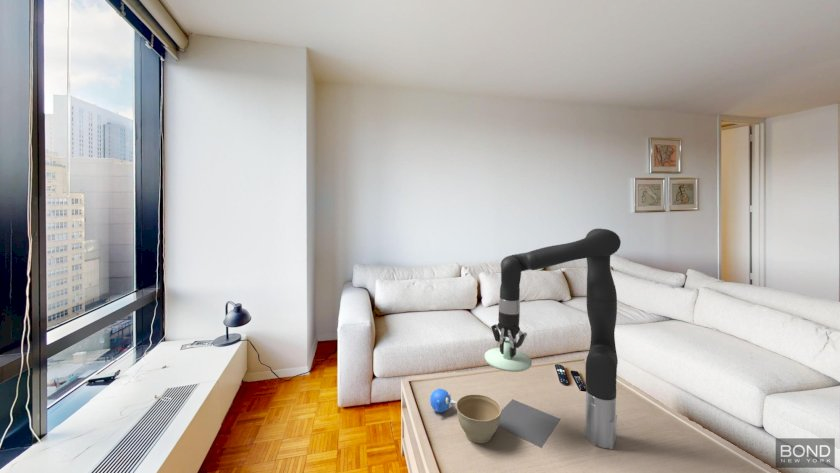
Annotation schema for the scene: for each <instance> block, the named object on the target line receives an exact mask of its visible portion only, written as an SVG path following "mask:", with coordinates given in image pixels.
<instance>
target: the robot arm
mask: <svg viewBox="0 0 840 473" xmlns="http://www.w3.org/2000/svg"><path fill="white" fill-rule="evenodd" d="M620 248H621V238H620V236H619V235H618V233H616V232H614V231H613V230H610V229H608V228H607V229H606V228H593V229H591V230H590V231H588V233H587V234H586V235H585V237H584V238H581V239H579V240H576V241H572V242H567V243H561V244H555V245H549V246H545V247H541V248H537V249H533V250H531V251H528V252H522V253H515V254H512V255H507V256H505V257H504V258H503V259H502V260H501V262H500V288H499V301H498V320H497V321H498V323H497V324H492V325H491V326H490V328H491V331H492V333H493V337H494V340H495V341H496V342H498V343H499V348H500V352H501V354H503V353H504V341H507V338H508V341H510V344H511V348H510V357H514V356H515V355H516V350H517V349H518V348H520V347H522V345H523V343H524V342H525V339H526V338H527V335H528V333H527V332H524V331H522V330H521V328H520V317H521V316H520V314H521V302H520V299H521V298H520V297H521V295H520V294H521V293H520V292H521V291H520V290H521V288H520V284H521V277H522V272H525V271H537V270H542V269H546V268H550V267H552V266H553V267H554V266H556V265H560V264H564V263H565V264H566V263H569V262H571V261H573V262H574V261H576V260H577V261H578V260H582V259H586V265H587V266H586V268H587V271H586V272H587V273H586V312H587V317H588V318H587V319H588V321H589V325H590V343H589V344H590V345H589V351H588V354H587V356H586V359H585V386H586V388H585V419H584V426H585V427H584V435H585V438H586V439H587V441H588V442H590V443H591V444H593V445H594V446H596V447H599V448H602V449H610V450H614V447H615V445H616V442H617V421H618V415H617V414H616V410H617V376H618V374H617V373H618V372H617V370H618V364H619V363H618V362H619V361H618V359H619V358H618V356H617V355H618V354H617V347H616V340H615V338H616V337H615V336H616V335H615V332H616V331H615V330H616V323H617V315H618V314H617V313H618V296H617V289H616V284H615V281H614V278H613V275H612V274H613V273H612V270H611V256H612V255H614V254H615V253H616V252H618V251H619V249H620ZM517 335H518V340H517Z"/></svg>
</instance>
